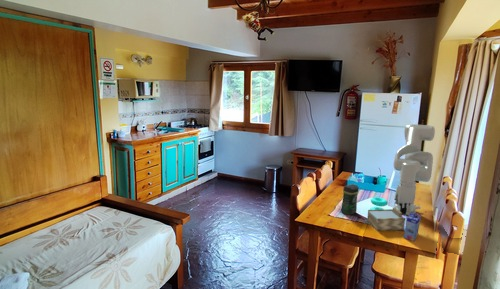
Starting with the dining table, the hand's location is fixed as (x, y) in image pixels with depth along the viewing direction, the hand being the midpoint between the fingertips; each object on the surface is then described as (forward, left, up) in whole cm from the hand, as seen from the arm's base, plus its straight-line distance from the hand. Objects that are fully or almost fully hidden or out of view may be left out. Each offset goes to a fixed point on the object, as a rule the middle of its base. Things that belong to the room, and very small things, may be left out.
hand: (402, 213), depth 175 cm
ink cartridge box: (+2, +13, -8) cm, 15 cm away
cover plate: (+10, 0, -2) cm, 10 cm away
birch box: (+10, 0, -8) cm, 13 cm away
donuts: (+6, -16, -8) cm, 19 cm away
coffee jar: (+24, -19, -8) cm, 32 cm away
